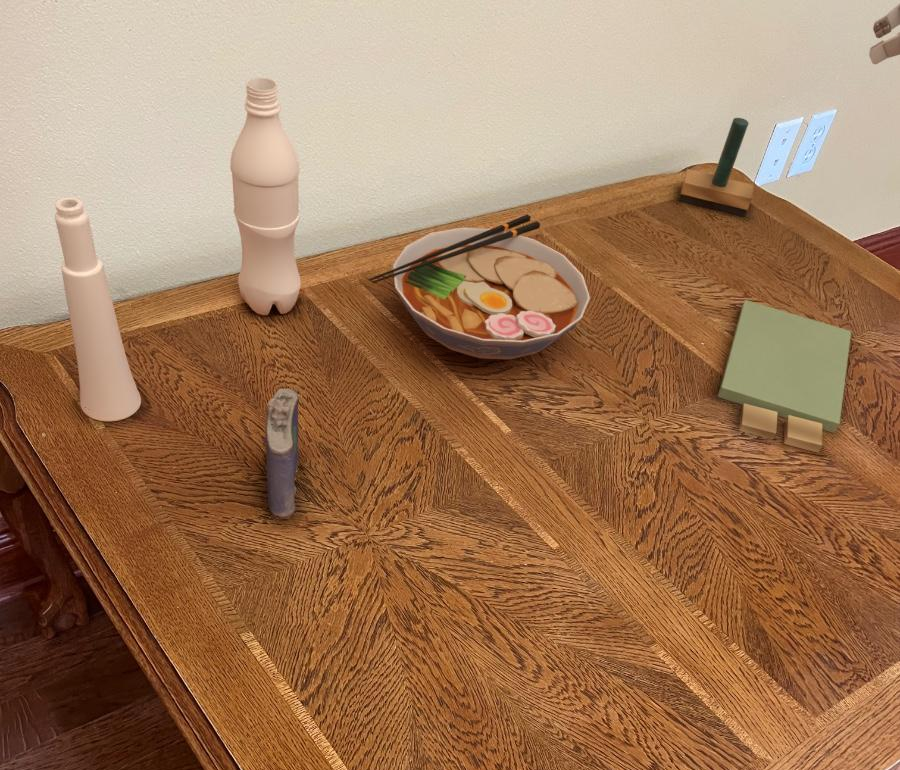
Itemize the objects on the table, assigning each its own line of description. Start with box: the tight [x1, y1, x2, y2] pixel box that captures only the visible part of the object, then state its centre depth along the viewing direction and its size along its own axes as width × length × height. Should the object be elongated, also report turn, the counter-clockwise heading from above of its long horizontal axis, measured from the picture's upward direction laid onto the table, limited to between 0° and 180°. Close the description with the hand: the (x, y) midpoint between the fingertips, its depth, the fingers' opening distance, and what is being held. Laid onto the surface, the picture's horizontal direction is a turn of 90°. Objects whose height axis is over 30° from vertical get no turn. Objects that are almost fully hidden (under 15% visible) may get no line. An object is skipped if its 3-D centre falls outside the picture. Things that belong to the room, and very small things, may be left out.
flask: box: [264, 387, 300, 520], centre depth 89 cm, size 9×3×11 cm, turn 2°
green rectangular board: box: [717, 299, 852, 434], centre depth 115 cm, size 20×14×2 cm
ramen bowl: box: [369, 214, 591, 360], centre depth 110 cm, size 25×23×8 cm
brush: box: [678, 117, 754, 218], centre depth 136 cm, size 10×4×12 cm, turn 75°
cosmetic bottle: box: [54, 196, 142, 422], centre depth 89 cm, size 6×6×22 cm
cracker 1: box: [738, 403, 778, 441], centre depth 108 cm, size 4×4×1 cm
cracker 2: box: [783, 415, 823, 454], centre depth 107 cm, size 4×4×1 cm
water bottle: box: [229, 76, 302, 316], centre depth 102 cm, size 7×7×25 cm
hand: (872, 44), depth 119 cm, fingers open, 8 cm apart
